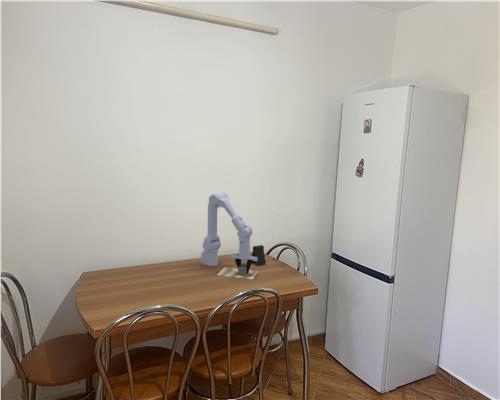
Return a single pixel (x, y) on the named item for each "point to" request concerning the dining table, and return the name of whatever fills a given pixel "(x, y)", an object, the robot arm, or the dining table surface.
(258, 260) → the door stopper
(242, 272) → the block
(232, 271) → the board
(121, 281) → the dining table surface
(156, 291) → the dining table surface
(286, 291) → the dining table surface
